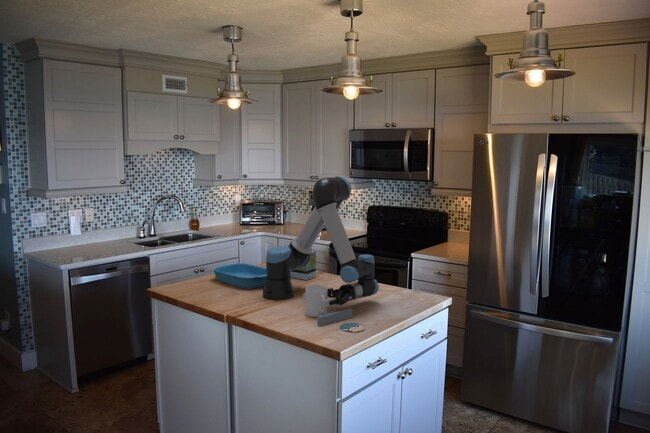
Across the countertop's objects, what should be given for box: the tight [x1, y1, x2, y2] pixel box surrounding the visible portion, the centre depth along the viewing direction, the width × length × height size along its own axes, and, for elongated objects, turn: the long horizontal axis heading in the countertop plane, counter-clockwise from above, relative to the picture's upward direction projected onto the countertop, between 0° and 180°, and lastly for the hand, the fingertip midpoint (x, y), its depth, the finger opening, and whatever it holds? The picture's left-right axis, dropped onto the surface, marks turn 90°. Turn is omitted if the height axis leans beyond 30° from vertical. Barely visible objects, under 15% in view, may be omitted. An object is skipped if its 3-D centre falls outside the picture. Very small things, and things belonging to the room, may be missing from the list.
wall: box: [316, 308, 354, 327], centre depth 216 cm, size 18×2×4 cm, turn 130°
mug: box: [304, 284, 329, 318], centre depth 223 cm, size 10×12×12 cm
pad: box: [339, 322, 366, 332], centre depth 208 cm, size 10×10×1 cm
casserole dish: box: [212, 262, 266, 290], centre depth 275 cm, size 37×22×7 cm, turn 48°
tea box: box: [291, 250, 317, 281], centre depth 287 cm, size 15×10×15 cm, turn 58°
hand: (313, 300), depth 220 cm, fingers closed on mug, 12 cm apart
